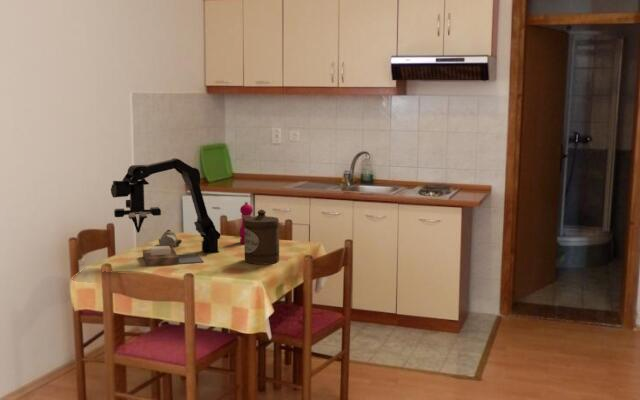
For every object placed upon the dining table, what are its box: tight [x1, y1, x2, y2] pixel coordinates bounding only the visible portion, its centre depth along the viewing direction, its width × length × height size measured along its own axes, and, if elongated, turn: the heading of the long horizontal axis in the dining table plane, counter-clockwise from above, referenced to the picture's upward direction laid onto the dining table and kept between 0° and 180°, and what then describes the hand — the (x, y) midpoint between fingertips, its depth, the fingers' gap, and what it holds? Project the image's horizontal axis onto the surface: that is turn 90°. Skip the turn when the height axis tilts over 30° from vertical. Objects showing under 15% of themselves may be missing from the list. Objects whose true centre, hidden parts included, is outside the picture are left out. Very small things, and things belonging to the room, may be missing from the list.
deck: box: [142, 247, 180, 267], centre depth 313 cm, size 13×18×3 cm
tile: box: [149, 245, 171, 256], centre depth 313 cm, size 8×6×2 cm
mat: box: [177, 253, 205, 265], centre depth 316 cm, size 10×16×1 cm, turn 18°
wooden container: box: [243, 209, 280, 265], centre depth 313 cm, size 15×15×22 cm
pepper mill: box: [238, 201, 254, 245], centre depth 351 cm, size 7×7×20 cm
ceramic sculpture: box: [158, 229, 182, 249], centre depth 340 cm, size 11×9×15 cm
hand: (138, 232), depth 309 cm, fingers closed
